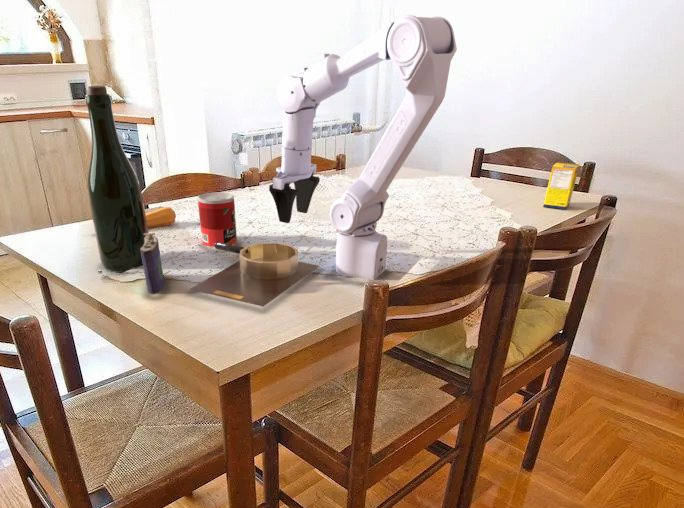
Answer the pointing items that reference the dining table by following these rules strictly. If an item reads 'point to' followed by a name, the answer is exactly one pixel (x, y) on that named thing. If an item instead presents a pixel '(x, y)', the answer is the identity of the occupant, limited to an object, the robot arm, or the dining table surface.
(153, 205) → the dining table surface
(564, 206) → the supplement box
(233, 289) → the board
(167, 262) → the dining table surface
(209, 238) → the canned food
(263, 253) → the pan
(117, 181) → the green wine bottle
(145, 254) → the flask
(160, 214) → the carrot
